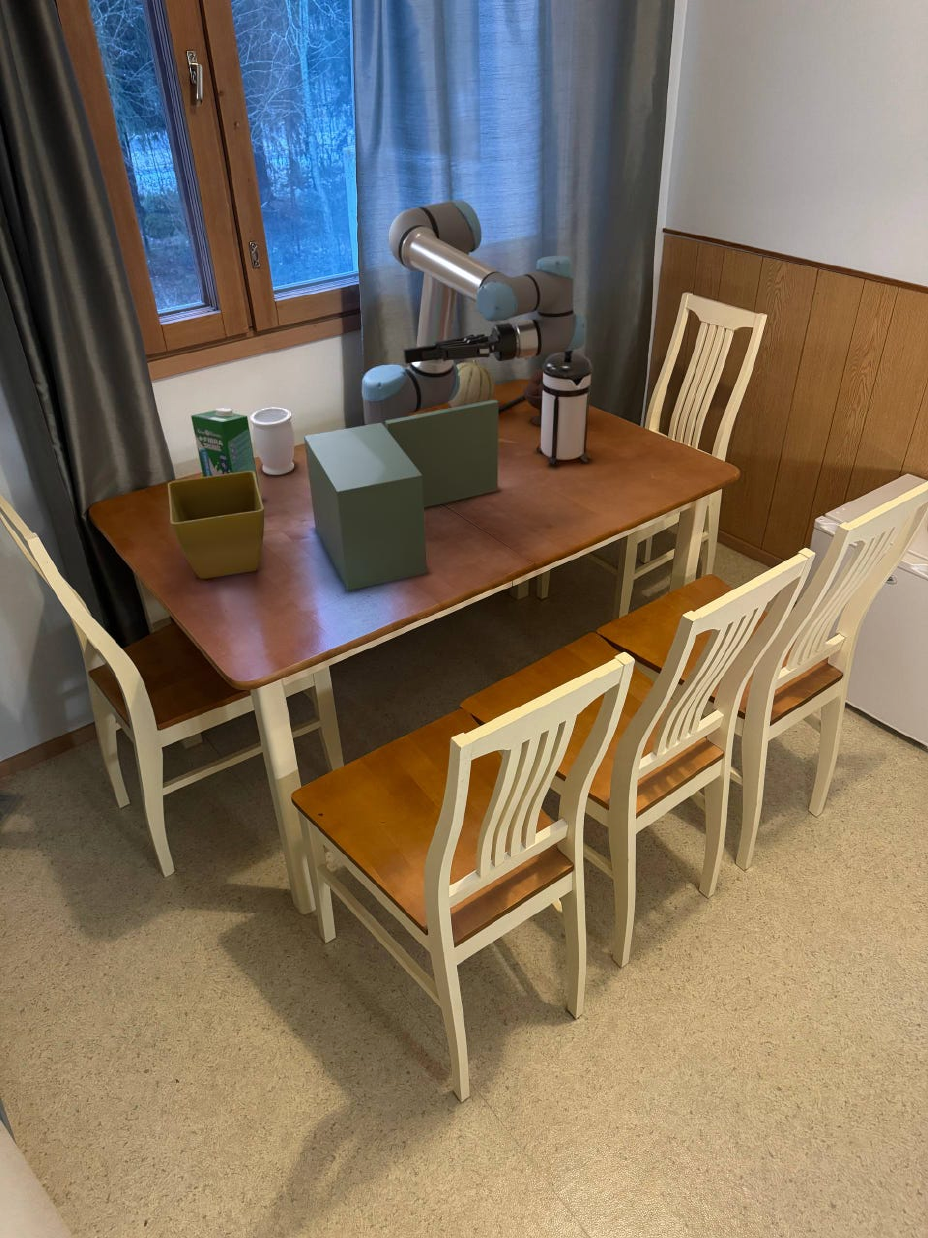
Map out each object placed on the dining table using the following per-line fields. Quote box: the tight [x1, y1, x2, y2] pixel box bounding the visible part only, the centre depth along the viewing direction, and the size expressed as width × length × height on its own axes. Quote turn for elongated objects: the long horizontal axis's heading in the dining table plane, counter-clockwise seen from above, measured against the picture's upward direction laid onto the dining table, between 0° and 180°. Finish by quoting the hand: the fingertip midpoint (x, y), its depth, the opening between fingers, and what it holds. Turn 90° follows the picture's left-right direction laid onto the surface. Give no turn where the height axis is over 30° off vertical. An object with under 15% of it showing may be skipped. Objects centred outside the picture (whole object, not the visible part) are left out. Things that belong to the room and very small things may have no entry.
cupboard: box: [303, 423, 428, 592], centre depth 204 cm, size 18×28×24 cm, turn 21°
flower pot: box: [167, 471, 265, 580], centre depth 204 cm, size 19×19×17 cm
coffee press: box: [536, 350, 594, 468], centre depth 241 cm, size 17×16×30 cm
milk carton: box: [190, 407, 261, 493], centre depth 222 cm, size 9×9×25 cm
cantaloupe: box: [447, 358, 496, 408], centre depth 269 cm, size 15×15×15 cm
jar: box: [249, 407, 295, 476], centre depth 241 cm, size 11×10×15 cm
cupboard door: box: [385, 398, 499, 509], centre depth 225 cm, size 8×28×24 cm, turn 114°
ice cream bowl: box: [522, 368, 543, 427], centre depth 262 cm, size 11×11×15 cm
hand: (404, 356), depth 193 cm, fingers closed
